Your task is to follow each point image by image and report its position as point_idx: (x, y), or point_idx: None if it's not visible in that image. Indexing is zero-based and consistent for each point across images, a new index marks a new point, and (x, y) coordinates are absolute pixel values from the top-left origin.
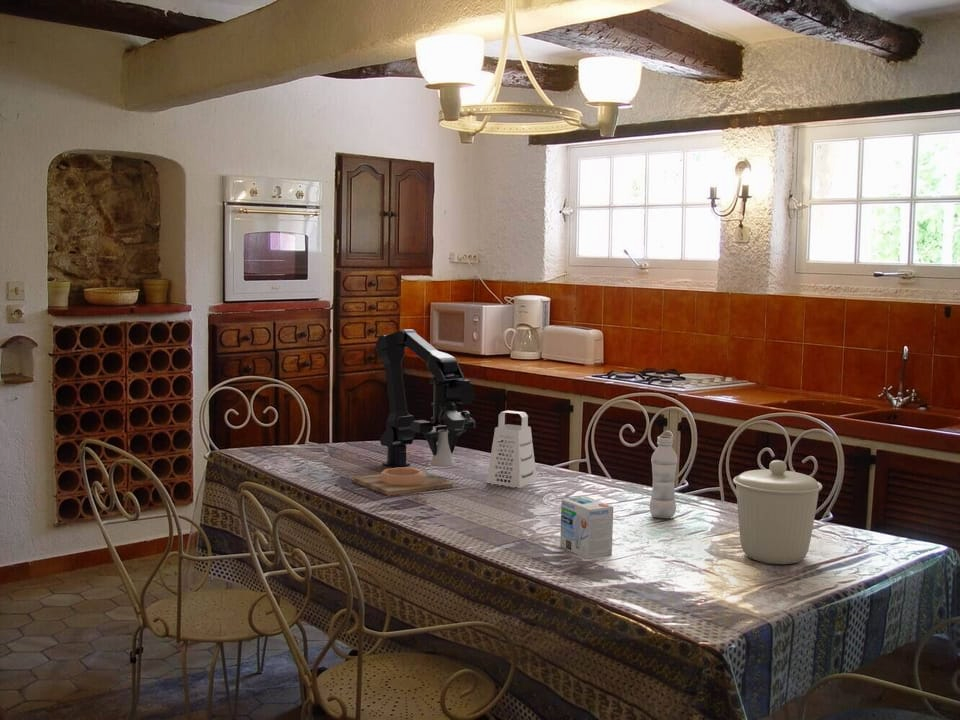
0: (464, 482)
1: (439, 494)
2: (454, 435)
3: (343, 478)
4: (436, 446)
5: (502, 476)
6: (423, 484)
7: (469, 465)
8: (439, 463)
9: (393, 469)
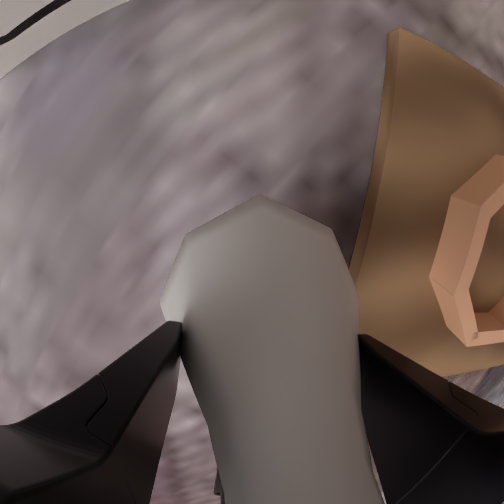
0: (252, 63)
1: (482, 21)
2: (108, 474)
3: (478, 396)
4: (406, 375)
5: (11, 65)
6: (499, 124)
7: (16, 357)
8: (342, 260)
9: (494, 329)
